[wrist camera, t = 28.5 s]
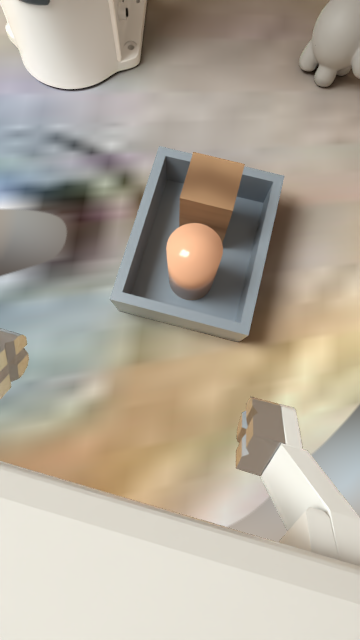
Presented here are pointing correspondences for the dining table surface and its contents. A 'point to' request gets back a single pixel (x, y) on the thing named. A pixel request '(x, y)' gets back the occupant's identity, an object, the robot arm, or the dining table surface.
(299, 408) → the dining table surface
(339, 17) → the round bodied animal figurine
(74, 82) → the robot arm
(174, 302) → the box
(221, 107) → the dining table surface
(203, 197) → the walnut block
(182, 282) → the ball
